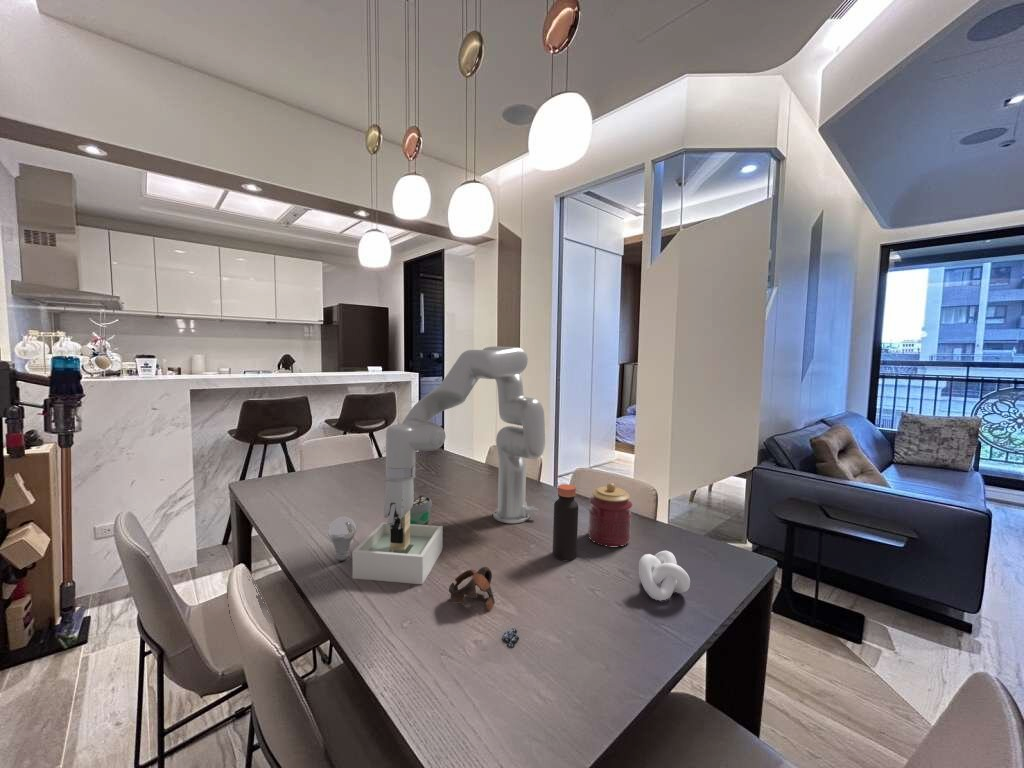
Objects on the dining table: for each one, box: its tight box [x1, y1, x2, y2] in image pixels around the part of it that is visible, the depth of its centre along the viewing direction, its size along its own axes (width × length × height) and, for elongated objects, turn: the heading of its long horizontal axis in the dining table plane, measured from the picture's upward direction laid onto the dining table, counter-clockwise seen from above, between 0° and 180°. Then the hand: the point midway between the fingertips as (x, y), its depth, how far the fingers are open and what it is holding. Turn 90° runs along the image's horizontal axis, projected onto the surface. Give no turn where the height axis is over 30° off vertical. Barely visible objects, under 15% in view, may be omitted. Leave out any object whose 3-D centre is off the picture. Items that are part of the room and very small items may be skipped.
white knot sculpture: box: [638, 550, 691, 602], centre depth 102 cm, size 11×12×9 cm
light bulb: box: [327, 516, 357, 562], centre depth 113 cm, size 7×7×12 cm
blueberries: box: [502, 627, 528, 649], centre depth 84 cm, size 7×8×2 cm
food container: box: [410, 493, 433, 525], centre depth 132 cm, size 12×6×10 cm, turn 168°
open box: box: [351, 521, 444, 585], centre depth 112 cm, size 18×18×7 cm
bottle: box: [552, 483, 579, 561], centre depth 118 cm, size 7×7×20 cm
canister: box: [587, 482, 633, 546], centre depth 129 cm, size 13×13×18 cm
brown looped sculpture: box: [448, 566, 495, 612], centre depth 96 cm, size 12×10×8 cm
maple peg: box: [390, 510, 410, 550], centre depth 111 cm, size 4×4×10 cm
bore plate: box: [369, 534, 432, 555], centre depth 112 cm, size 16×16×3 cm
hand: (400, 538), depth 112 cm, fingers closed on maple peg, 4 cm apart
